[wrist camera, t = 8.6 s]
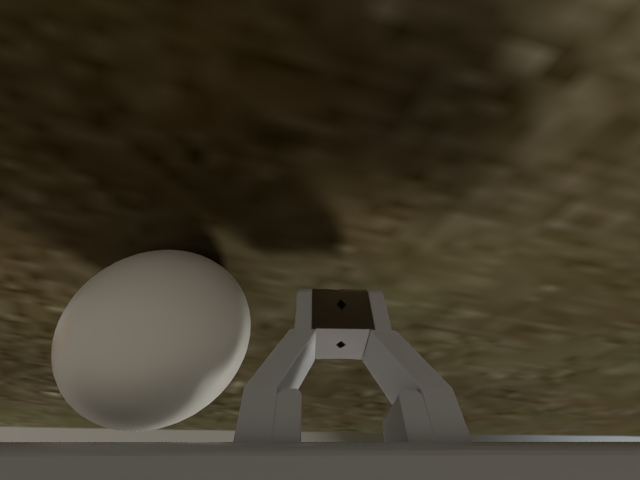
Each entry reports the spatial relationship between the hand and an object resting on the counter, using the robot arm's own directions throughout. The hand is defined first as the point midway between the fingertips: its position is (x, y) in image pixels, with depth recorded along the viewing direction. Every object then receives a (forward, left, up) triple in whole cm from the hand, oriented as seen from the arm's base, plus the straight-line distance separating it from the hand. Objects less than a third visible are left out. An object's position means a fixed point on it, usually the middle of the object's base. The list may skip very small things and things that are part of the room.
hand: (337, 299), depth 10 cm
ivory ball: (+6, -1, +1) cm, 6 cm away
